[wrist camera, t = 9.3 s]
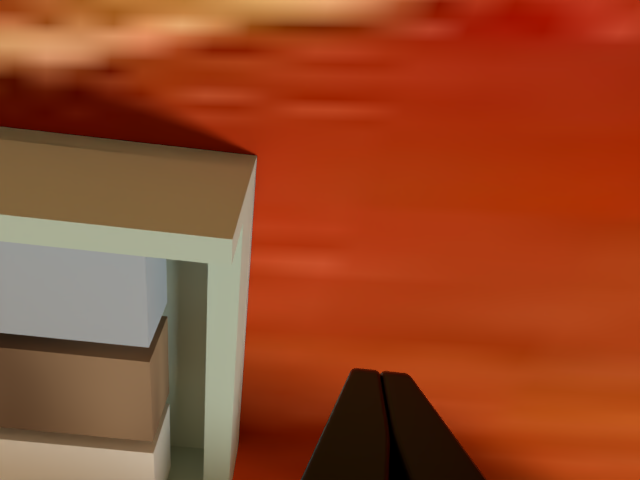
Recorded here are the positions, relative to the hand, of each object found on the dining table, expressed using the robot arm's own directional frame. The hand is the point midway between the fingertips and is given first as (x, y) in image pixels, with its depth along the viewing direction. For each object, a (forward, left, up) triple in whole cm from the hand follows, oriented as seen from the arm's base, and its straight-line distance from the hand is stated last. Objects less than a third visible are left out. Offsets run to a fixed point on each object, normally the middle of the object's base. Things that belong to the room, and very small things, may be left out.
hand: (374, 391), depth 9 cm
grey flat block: (+9, +5, -10) cm, 14 cm away
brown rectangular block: (+9, +9, -10) cm, 16 cm away
